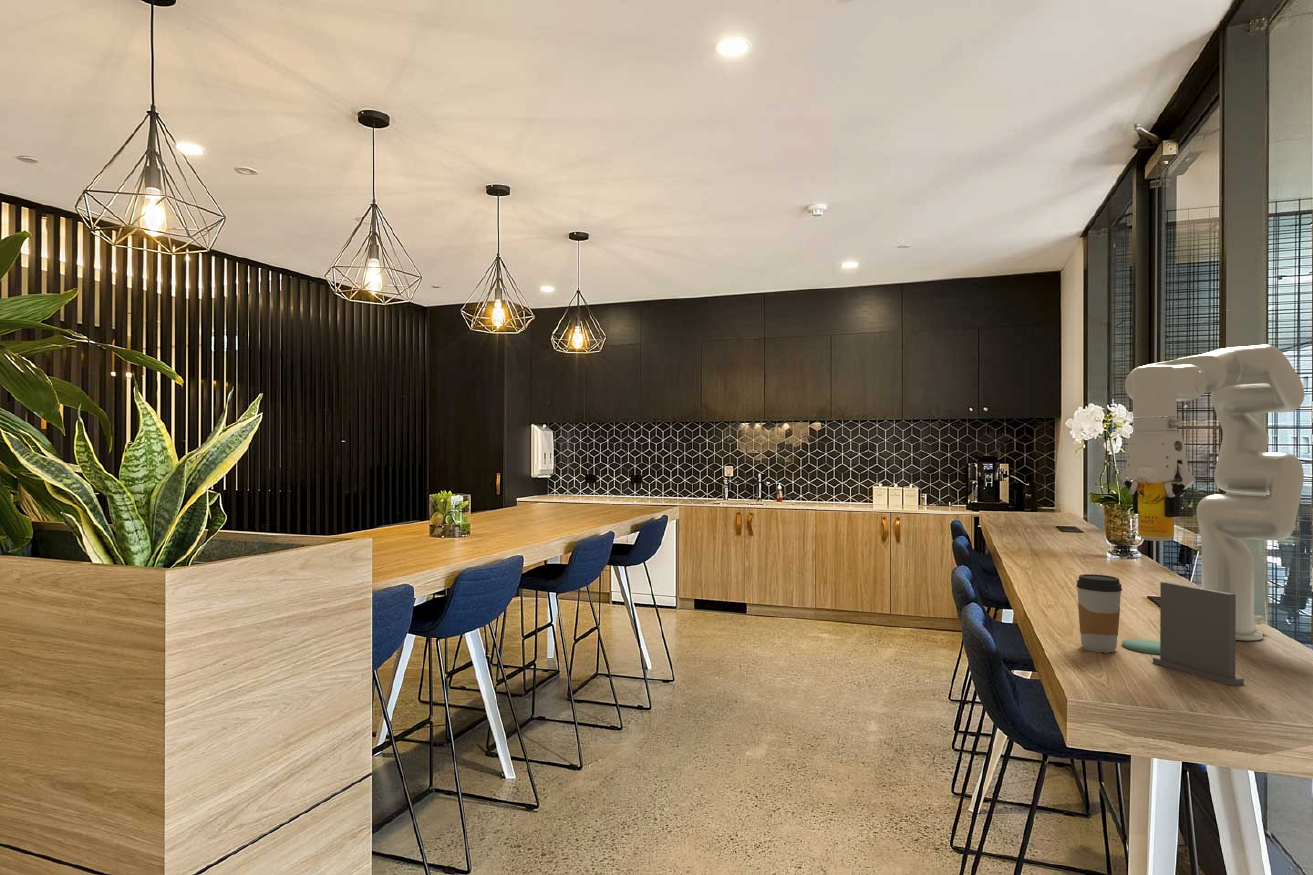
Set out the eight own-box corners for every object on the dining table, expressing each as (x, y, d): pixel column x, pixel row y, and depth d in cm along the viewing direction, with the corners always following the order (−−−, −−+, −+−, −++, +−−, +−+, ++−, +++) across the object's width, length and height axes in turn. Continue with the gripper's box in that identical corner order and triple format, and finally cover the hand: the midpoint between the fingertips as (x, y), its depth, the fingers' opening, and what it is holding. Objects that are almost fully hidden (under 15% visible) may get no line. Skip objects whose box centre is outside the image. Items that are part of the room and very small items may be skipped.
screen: (1163, 661, 152) (1164, 580, 152) (1243, 684, 137) (1244, 594, 137) (1152, 662, 151) (1153, 581, 151) (1232, 685, 136) (1232, 595, 136)
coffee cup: (1128, 655, 156) (1128, 581, 156) (1083, 653, 157) (1084, 579, 157) (1113, 644, 164) (1113, 574, 164) (1070, 642, 165) (1070, 573, 165)
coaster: (1144, 640, 168) (1144, 637, 168) (1190, 652, 158) (1190, 649, 158) (1110, 644, 164) (1110, 641, 164) (1154, 656, 155) (1154, 653, 155)
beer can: (1131, 537, 159) (1130, 465, 158) (1158, 536, 159) (1157, 464, 159) (1153, 541, 153) (1152, 466, 152) (1181, 540, 153) (1180, 465, 153)
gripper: (1211, 425, 149) (1212, 518, 149) (1128, 426, 165) (1129, 510, 165) (1184, 426, 146) (1185, 520, 146) (1102, 427, 162) (1104, 512, 163)
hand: (1155, 514), depth 156 cm, fingers closed on beer can, 6 cm apart
